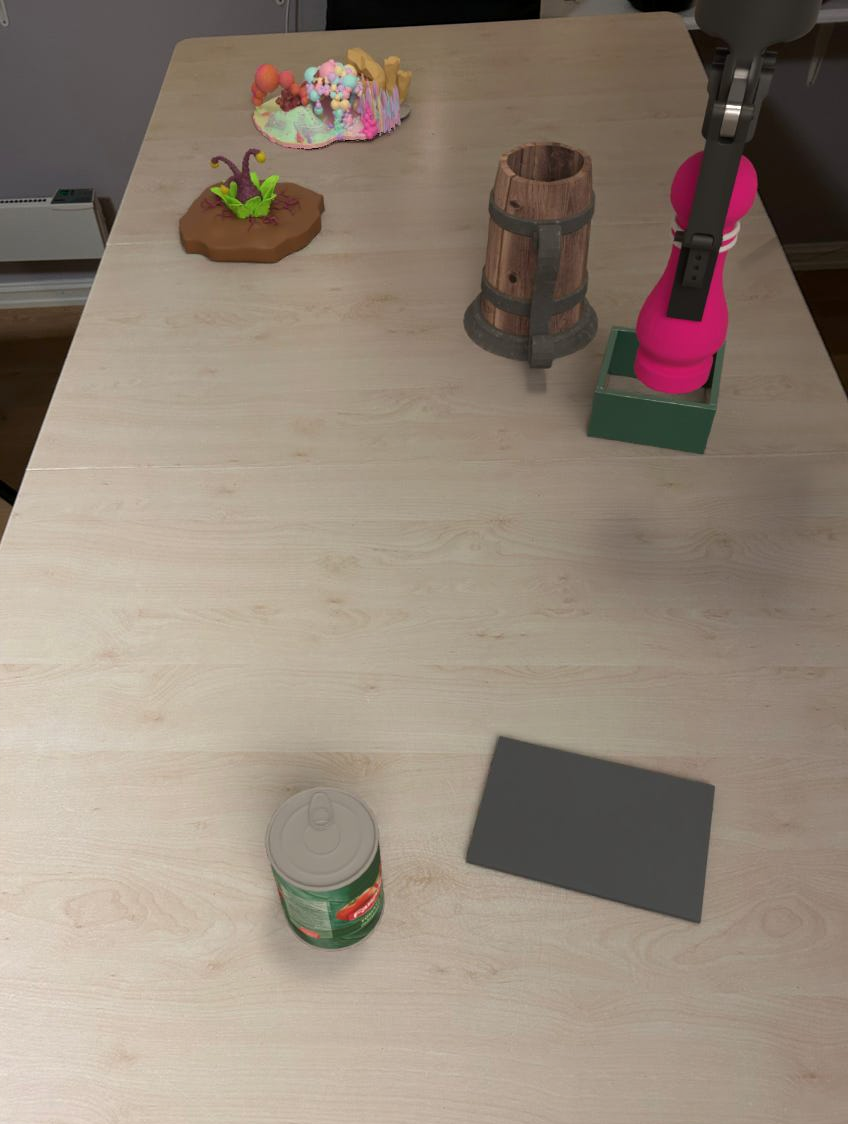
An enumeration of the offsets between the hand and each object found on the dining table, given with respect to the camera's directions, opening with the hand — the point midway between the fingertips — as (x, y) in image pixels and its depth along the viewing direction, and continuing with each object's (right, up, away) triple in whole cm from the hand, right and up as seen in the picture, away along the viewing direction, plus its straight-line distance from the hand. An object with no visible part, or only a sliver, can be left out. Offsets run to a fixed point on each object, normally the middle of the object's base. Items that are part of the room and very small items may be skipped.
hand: (689, 295), depth 77 cm
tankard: (-5, +10, +43) cm, 44 cm away
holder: (+7, -1, +33) cm, 34 cm away
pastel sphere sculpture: (-31, +59, +84) cm, 107 cm away
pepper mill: (0, -5, +6) cm, 7 cm away
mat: (-8, -43, +1) cm, 43 cm away
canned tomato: (-28, -48, -2) cm, 56 cm away
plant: (-42, +32, +63) cm, 82 cm away
